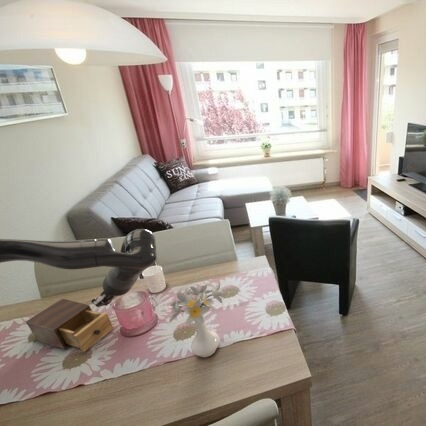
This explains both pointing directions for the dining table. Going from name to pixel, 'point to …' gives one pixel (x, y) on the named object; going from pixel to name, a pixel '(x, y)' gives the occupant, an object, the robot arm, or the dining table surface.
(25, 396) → the dining table surface
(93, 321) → the wooden drawer with knob
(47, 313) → the wooden drawer box
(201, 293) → the flower vase
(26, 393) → the dining table surface
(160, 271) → the white cup
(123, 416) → the dining table surface
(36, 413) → the dining table surface
